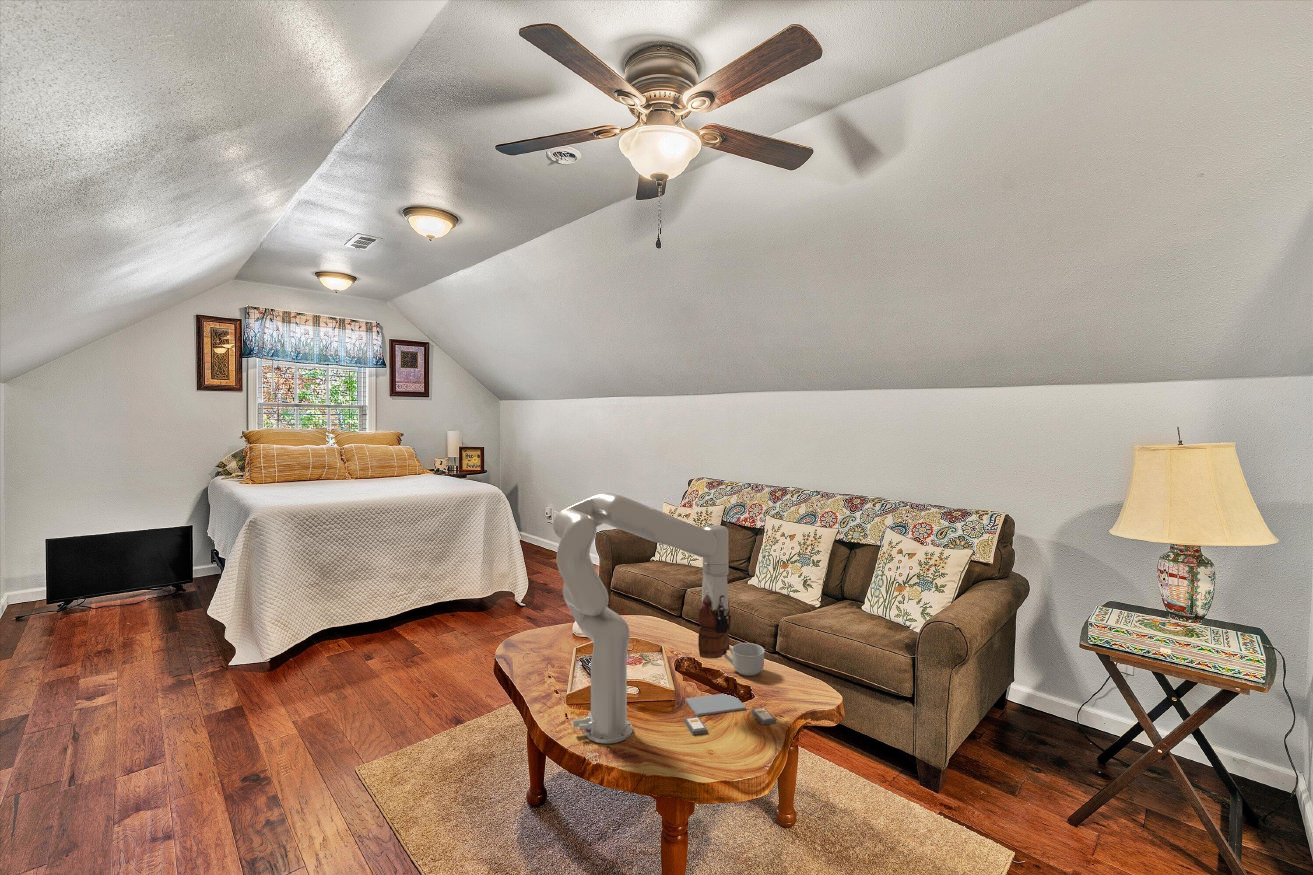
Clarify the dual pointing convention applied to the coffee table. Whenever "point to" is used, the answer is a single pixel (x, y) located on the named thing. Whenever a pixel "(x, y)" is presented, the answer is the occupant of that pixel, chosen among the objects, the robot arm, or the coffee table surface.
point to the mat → (714, 704)
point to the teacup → (747, 658)
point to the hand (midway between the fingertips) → (715, 627)
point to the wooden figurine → (711, 632)
